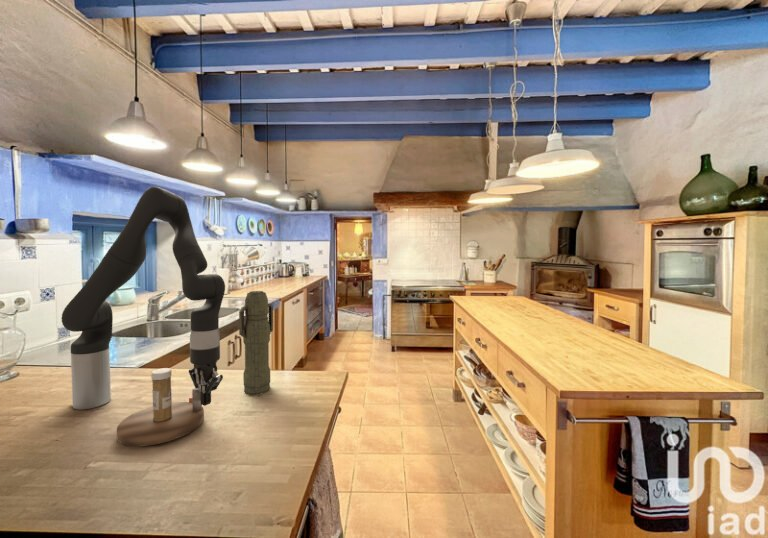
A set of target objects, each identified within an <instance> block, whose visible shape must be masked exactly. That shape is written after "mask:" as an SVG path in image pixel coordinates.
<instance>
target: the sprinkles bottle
mask: <svg viewBox="0 0 768 538" xmlns="http://www.w3.org/2000/svg"><path fill="white" fill-rule="evenodd" d="M151 381H152V390H151V392H152V407H153V415H154V417H153V420H154V421H157V422H159V421H165V420H167V419H169V418H171V417H172V403H173V401H172V384H171V383H172V369H171V368H170V367H169V368H168V367H163V368H158V369H155V370H152V372H151Z"/></svg>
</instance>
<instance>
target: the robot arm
mask: <svg viewBox="0 0 768 538" xmlns="http://www.w3.org/2000/svg"><path fill="white" fill-rule="evenodd" d="M155 219H157V220H159V221H163V222H166V223H168V224H169V225H170V227H172V230H173V231H174V234H175V235H174V238H173V242H172V253H173V256H174V258H175V260H176V262H177V265H178V267H179V269H180V274H181V275H180V277H181V284H182V285H181V287H182V293H183V295H184V296H185V298H187V299H188V300H190V301H193V302H196V301H204V300H205V302H204V304H203V305H201V306H199V307H196V308H195V309H194V308H193V309H192V310H191V312H190V334H189V362H190V363H191V364H192V365H193V367H192V368H191V369H189V370H188V374H189V377H190V379H191V381H192V384H193V385H194V388H196V389H197V388H198V389H199V392H200V400H201V405H202V406H207V405H210V404H211V403H212V392H213V391H216V390H217V389H218V388H219V385H220V384H221V382H222V380H223V379H224V376H223V374H219V373H218V366H217V363H218V361H219V360H220V359H221V337H220V336H221V335H220V329H219V327H220V326H219V325H220V324H219V323H220V322H219V319H220V318H219V314H220V310H221V306H222V303H223V301H224V300H223V299H224V296H225V293H226V292H225V291H226V284H225V280H224V279H223V277H222V276H221V275H220V274H217V273H209V274H201V273H204V272H205V271H206V269H207V267H208V261H207V259H206V257H205V255H204V253H203V251H202V249H201V247H200V244H199V242H198V240H197V237H196V235H195V231H194V227H193V224H192V220H191V217H190V213H189V209H188V206H187V203H186V201H185V200H184V198H183V197H181V196H180V195H177V194H176V193H174V192H171V191H169V190H167V189H164V188H162V187H159V186H150V187H149V188H147V189H146V190H145V191H144V192H143V194H142V195H141V197H140V198H139V200H138V202H137V203H136V205H135V207H134V209H133V211H132V213H131V215H130V217H129V218H128V221H127V222H126V224H125V226H124V227H123V229H122V230H121V231H120V232H119V235H118V236H117V237H116V240H115V241H114V242H113V244H112V245H111V246H110V247H109V249H108V250H107V252H106V253H105V254H104V256H103V257H102V260H101V261H100V263H99V264H98V265H97V267H96V268H95V269H94V271H93V273H92V274H91V275H90V276H89V278H88V280H87V281H86V282H85V284H84V285H83V287H82V288H80V290H79V291H78V292H77V294H75V296H73V297H72V298H71V300H70V301H69V302H68V304H67V305H66V306H65V308H64V309H63V311H62V314H61V323H62V326H63V328H65V330H67V331H69V332H76V333H77V332H79V333H80V332H81V334H80V335H79V336H78V338H77V339H75V340H74V341H73V342H72V343H71V344H70V365H71V367H70V368H71V392H72V393H71V395H72V397H71V398H72V409H74V410H79V411H80V410H81V411H82V410H89V409H94V408H98V407H100V406H103V405H106V404H107V403H109V402H110V401H111V400H112V399H111V397H112V396H111V395H112V393H111V391H112V390H111V387H112V386H111V363H110V362H111V359H110V342H111V340H112V338H113V321H114V319H113V318H114V317H113V316H114V315H113V309H112V307H111V305H110V303H109V302H108V301H107V299H108V297H110V296H111V295H112V294H113V293H114V292H116V291H117V290H118V289H119V288H121V287H123V285H125V284H127V283H128V282H129V281H130V280H131V279H132V278H133V277H134V276H135V275H136V273H137V272H138V271H139V269H140V268H141V267H142V265H143V264H144V262H145V260H146V257H147V245H146V242H147V241H146V235H147V234H146V233H147V231H148V228H149V227H150V225H151V224H152V222H153V221H154V220H155Z"/></svg>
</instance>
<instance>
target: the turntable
mask: <svg viewBox="0 0 768 538" xmlns="http://www.w3.org/2000/svg"><path fill="white" fill-rule="evenodd" d="M191 391H192V392H191V397H192V402H189V401H175V402H173V401H172V417H171V418H169V419H167V420H165V421H159V422H157V421H154V420H153V417H154V415H153V406H150V407H146V408H144V409H141V410H139V411H136V412H134V413H132V414H131V415H129V416H126V418H124V419H123V420H121V421H120V422H119V424H118V425H117V427H116V440H117V441H118V442H119V443H120V444H122V445H125V446H129V447H130V446H131V447H146V446H154V445H159V444H163V443H167V442H171V441H173V440H176V439H178V438H181V437H183V436H185V435H188V434H190V433H191V432H193V431H195V430H196V429H197V428H199V426H201V424H202V423H203V422H204V419H205V409H204V407H203V405H201V400H200V392H199V389H198V388H197V389H196V388H195V387H194V388H192V389H191Z"/></svg>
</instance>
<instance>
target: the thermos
mask: <svg viewBox="0 0 768 538" xmlns="http://www.w3.org/2000/svg"><path fill="white" fill-rule="evenodd" d="M238 316H239V318H238V323H239V324H238V325H239V326H238V328H239V330H238V331H239V333H238V334H239V336H241V337H242V338H243V341H242V342H243V345H244V371H243V375H242V376H243V377H242V379H243V392H245V393H246V395H248V394H249V395H250V396H258V395H262V394H261V393H263V394H265V393H267V392H269V391H270V390H271V389H270V388H271V385H270V384H271V368H270V365H269V364H270V363H269V360H270V359H269V352H270V351H269V348H270V347H269V346H270V345H269V344H270V342H271V334H272V333H273V331H274V307H273V305H272V303H269V299H268V296H267V293H266V292H265V291H262V290H252V291H249V292H248V293H247V294H246V297H245V299H244V306H241V308H240V309H239V311H238ZM269 389H270V390H269ZM245 393H244V394H245ZM257 394H258V395H257ZM249 395H248V396H249Z"/></svg>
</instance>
